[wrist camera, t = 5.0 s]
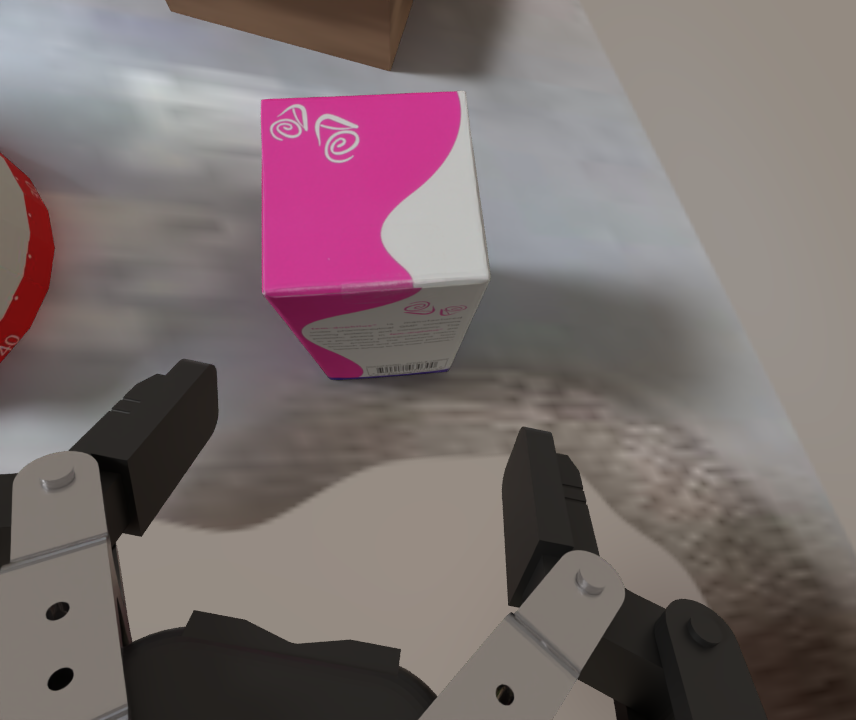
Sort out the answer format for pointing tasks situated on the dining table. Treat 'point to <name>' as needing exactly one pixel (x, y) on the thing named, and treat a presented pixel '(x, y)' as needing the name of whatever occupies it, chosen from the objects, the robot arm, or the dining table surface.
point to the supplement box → (373, 229)
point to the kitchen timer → (21, 254)
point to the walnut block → (314, 24)
